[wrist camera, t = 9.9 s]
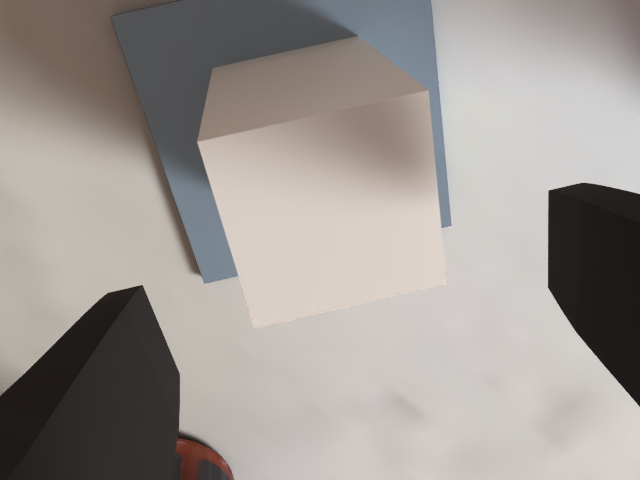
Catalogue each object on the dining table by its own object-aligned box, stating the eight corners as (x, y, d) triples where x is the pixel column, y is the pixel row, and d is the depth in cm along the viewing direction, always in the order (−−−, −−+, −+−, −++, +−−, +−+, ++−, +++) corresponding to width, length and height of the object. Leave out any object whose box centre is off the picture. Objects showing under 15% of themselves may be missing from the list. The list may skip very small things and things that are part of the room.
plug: (358, 35, 17) (428, 90, 10) (378, 172, 19) (446, 284, 13) (212, 67, 17) (196, 142, 10) (249, 201, 19) (254, 328, 12)
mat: (421, -54, 16) (425, -55, 16) (447, 220, 20) (451, 225, 20) (112, 15, 16) (110, 17, 16) (204, 277, 20) (204, 283, 20)
